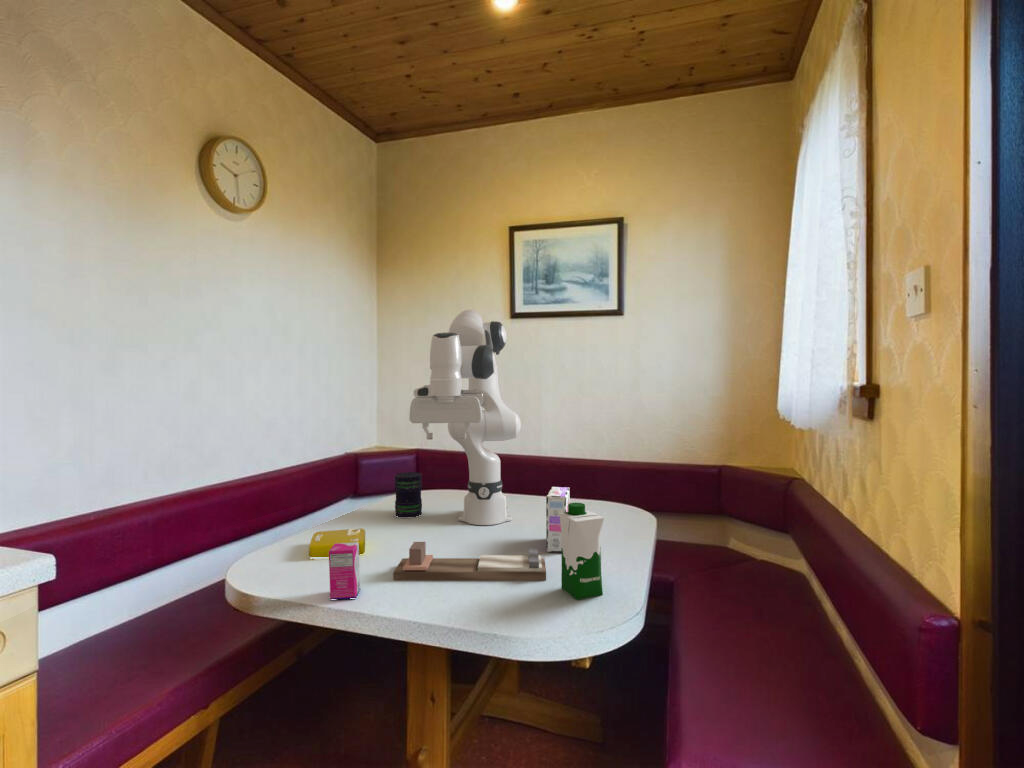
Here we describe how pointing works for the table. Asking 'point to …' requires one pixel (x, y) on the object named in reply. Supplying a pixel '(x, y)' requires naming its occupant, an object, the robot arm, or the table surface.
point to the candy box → (555, 516)
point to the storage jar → (408, 494)
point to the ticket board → (479, 568)
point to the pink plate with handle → (418, 557)
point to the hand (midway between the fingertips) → (446, 439)
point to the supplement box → (344, 570)
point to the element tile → (335, 541)
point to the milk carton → (581, 552)
